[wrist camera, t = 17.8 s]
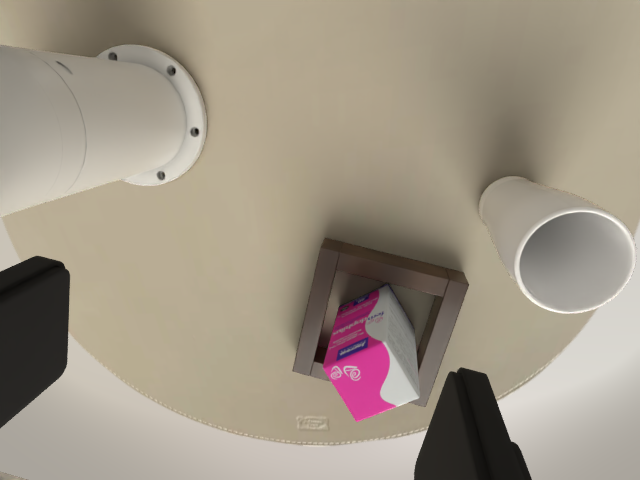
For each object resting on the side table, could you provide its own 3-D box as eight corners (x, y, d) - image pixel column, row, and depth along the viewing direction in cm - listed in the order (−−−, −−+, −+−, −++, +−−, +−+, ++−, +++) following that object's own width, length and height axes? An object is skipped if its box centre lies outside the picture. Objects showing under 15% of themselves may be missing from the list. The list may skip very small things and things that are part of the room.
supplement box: (387, 279, 44) (387, 339, 33) (415, 328, 45) (424, 401, 34) (336, 304, 46) (320, 369, 35) (364, 350, 47) (358, 427, 36)
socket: (297, 355, 48) (292, 371, 45) (324, 237, 44) (320, 247, 41) (423, 389, 47) (425, 407, 44) (463, 272, 43) (469, 284, 40)
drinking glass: (504, 151, 39) (572, 181, 25) (565, 195, 39) (667, 251, 25) (453, 212, 41) (488, 273, 27) (512, 254, 41) (577, 336, 27)
